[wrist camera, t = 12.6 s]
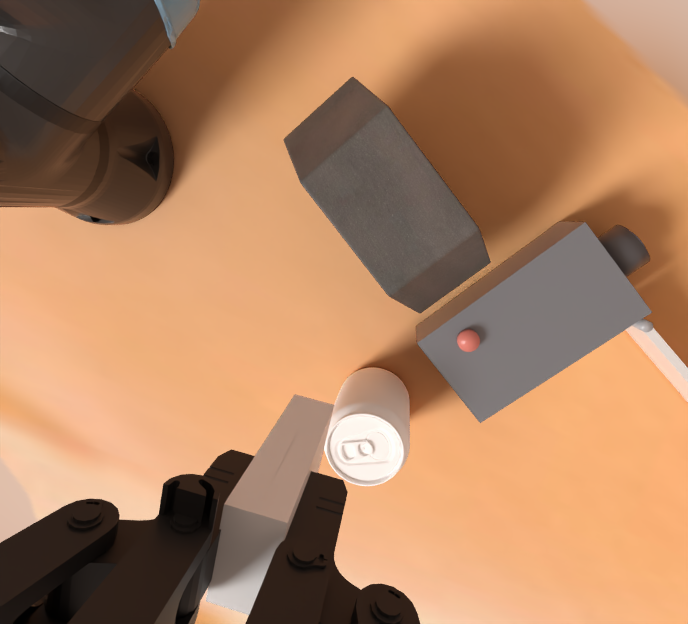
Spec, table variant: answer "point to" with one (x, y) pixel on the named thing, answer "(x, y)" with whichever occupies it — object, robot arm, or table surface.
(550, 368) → the camcorder
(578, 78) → the table surface
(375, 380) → the beverage can
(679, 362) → the door
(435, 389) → the table surface
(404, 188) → the grey bevelled block
